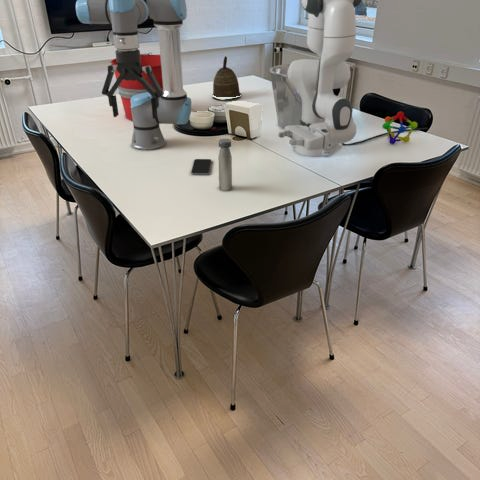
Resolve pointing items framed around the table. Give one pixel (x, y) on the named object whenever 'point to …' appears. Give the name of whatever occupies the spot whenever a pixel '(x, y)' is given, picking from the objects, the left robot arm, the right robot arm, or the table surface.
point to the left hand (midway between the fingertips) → (135, 116)
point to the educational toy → (398, 128)
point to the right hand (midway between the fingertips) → (284, 138)
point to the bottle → (225, 169)
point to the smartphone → (201, 166)
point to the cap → (224, 143)
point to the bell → (225, 82)
